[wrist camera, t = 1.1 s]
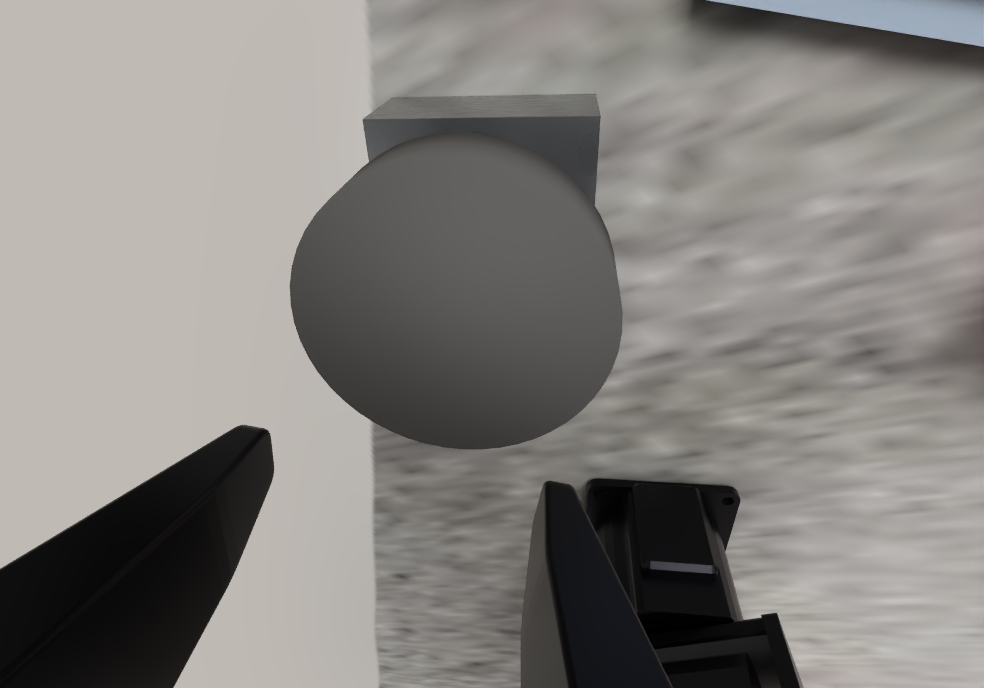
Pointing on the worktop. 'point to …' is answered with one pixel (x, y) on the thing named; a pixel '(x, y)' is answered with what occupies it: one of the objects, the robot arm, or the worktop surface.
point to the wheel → (460, 292)
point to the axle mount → (499, 126)
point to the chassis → (891, 15)
